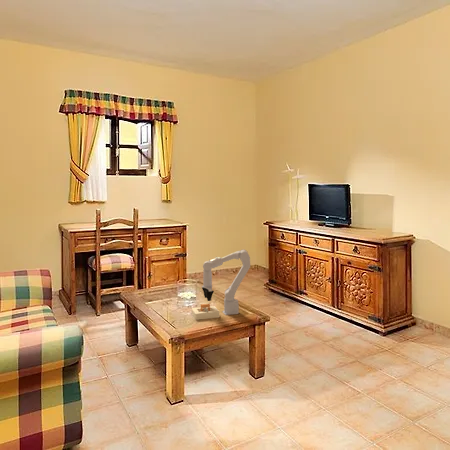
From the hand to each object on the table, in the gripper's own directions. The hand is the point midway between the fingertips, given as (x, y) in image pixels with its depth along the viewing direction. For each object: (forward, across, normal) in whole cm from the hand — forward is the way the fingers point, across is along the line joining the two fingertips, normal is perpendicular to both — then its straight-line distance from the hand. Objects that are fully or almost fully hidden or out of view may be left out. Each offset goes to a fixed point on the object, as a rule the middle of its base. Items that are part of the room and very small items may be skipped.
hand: (207, 299), depth 266 cm
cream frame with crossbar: (+9, +5, -3) cm, 11 cm away
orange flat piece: (+7, +5, -3) cm, 9 cm away
